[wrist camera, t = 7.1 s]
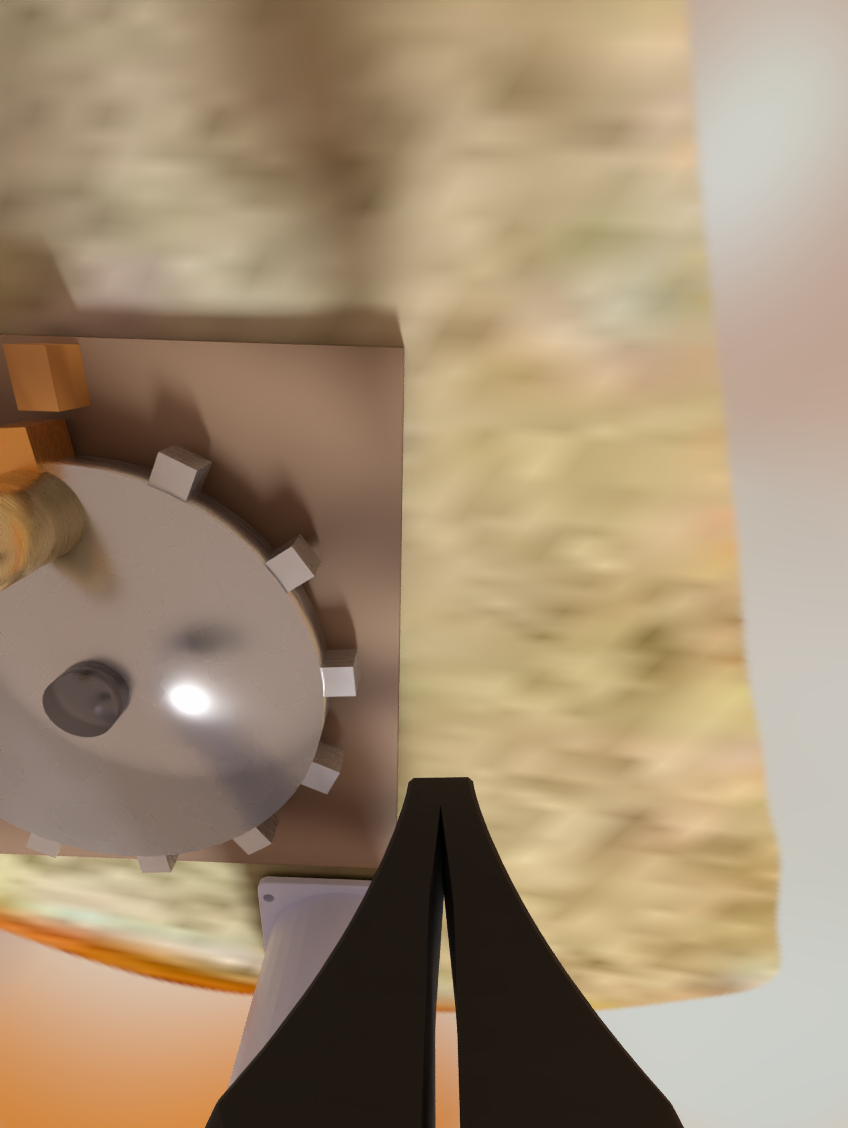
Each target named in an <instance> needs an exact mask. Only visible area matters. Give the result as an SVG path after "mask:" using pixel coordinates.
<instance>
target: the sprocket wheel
mask: <svg viewBox="0 0 848 1128" xmlns="http://www.w3.org/2000/svg"><path fill="white" fill-rule="evenodd" d="M211 464H212V462H211V461H209V460H207V459H205V458H203V457H201V456H199V455H196V454H194V453H192V452H190V451H188V450H186V449H184V448H182V447H180V446H178V445H174V446H171V447H169V448H167V449H164V450H162V451H159V452H158V455H157V458H156V461H155V464H154V467H153V469H150V468H147V467H143V466H140V465H136V464H133V463H129V462H125V461H122V460H116V459H109V458H103V457H96V456H90V455H75V454H74V451H73V447H72V444H71V440H70V437H69V433H68V429H67V426H66V422H65V419H45V420H26V421H21V422H16V423H11V424H6V425H2V426H0V819H2V820H4V821H6V822H8V823H10V824H12V825H14V826H16V827H18V828H20V829H23V830H25V831H28V832H30V833H31V834H30V837H29V840H28V843H27V846H26V848H29V849H32V850H34V851H37V852H40V853H43V854H46V855H49V856H51V857H54V858H55V857H56V856H57V855H58V853H59V852H60V851H61V849H62V848H63V847H64V845H67V846H71V847H75V848H80V849H84V850H89V851H94V852H99V853H107V854H115V855H123V856H137V858H138V861H139V864H140V867H141V870H142V873H157V872H171V871H172V869H173V867H174V865H175V863H176V860H177V858H178V856H179V854H181V853H187V852H193V851H198V850H202V849H205V848H209V847H212V846H216V845H219V844H222V843H224V842H227V841H229V840H231V839H233V840H234V841H235V842H236V843H237V844H238V845H239V846H240V847H241V848H242V849H243V850H244V851H245V852H246V853H247V854H248V855H250V854H252V853H254V852H256V851H258V850H260V849H262V848H264V847H266V846H268V845H270V844H272V842H273V839H274V836H275V832H276V829H277V826H278V823H279V819H278V817H277V816H276V815H275V814H274V813H275V812H277V811H278V810H279V809H280V808H281V807H282V806H283V805H284V804H285V803H286V802H287V801H288V799H289V798H290V797H291V796H292V795H293V794H294V793H295V791H296V790H297V788H298V787H299V785H300V784H302V785H305V786H307V787H310V788H312V789H315V790H317V791H320V792H322V793H325V794H328V792H329V790H330V789H331V787H332V785H333V784H334V782H335V780H336V779H337V777H338V775H339V774H340V770H341V766H342V761H343V757H344V752H345V751H344V750H341V749H339V748H337V747H334V746H332V745H329V744H327V743H325V742H322V741H320V737H321V734H322V730H323V727H324V723H325V719H326V716H327V712H328V708H329V700H330V697H337V696H356V694H357V689H358V685H359V680H360V669H359V659H358V649H329V650H327V645H326V640H325V636H324V633H323V630H322V627H321V624H320V622H319V619H318V616H317V613H316V611H315V609H314V607H313V605H312V603H311V601H310V599H309V597H308V595H307V593H306V591H305V589H304V587H303V586H302V583H304V582H306V581H307V580H309V579H311V578H312V577H314V576H315V574H316V572H317V570H318V568H319V566H320V564H321V561H320V559H319V558H318V557H317V555H316V554H315V553H314V551H313V550H312V549H311V547H310V546H309V545H308V543H307V542H306V541H305V539H304V538H303V537H302V535H301V534H299V535H298V536H296V537H295V538H293V539H292V540H290V541H288V542H287V543H285V544H284V545H282V546H280V547H279V548H277V549H276V550H275V549H274V548H273V547H272V546H271V544H270V543H269V542H268V541H267V540H266V539H265V538H264V537H263V536H262V535H261V534H259V533H258V532H257V531H256V530H255V529H254V528H253V527H252V526H251V525H249V524H248V523H247V522H246V521H245V520H244V519H243V518H242V517H240V516H239V515H237V514H236V513H234V512H233V511H232V510H230V509H229V508H227V507H226V506H225V505H223V504H222V503H220V502H219V501H218V500H216V499H215V498H213V497H211V496H209V495H207V494H206V493H204V492H202V488H203V485H204V483H205V480H206V477H207V475H208V472H209V469H210V467H211Z"/></svg>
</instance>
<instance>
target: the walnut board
mask: <svg viewBox="0 0 848 1128" xmlns="http://www.w3.org/2000/svg"><path fill="white" fill-rule="evenodd" d="M404 349H405V348H401V347H370V346H339V345H309V344H278V343H248V342H217V341H187V340H156V339H126V338H95V337H65V336H34V335H4V334H0V426H2V425H6V424H11V423H16V422H21V421H26V420H45V419H65V422H66V426H67V429H68V433H69V437H70V440H71V444H72V447H73V451H74V454H75V455H90V456H96V457H103V458H109V459H116V460H122V461H125V462H129V463H133V464H136V465H140V466H143V467H147V468H150V469H153V467H154V464H155V461H156V458H157V455H158V452H159V451H162V450H164V449H167V448H169V447H171V446H174V445H178V446H180V447H182V448H184V449H186V450H188V451H190V452H192V453H194V454H196V455H199V456H201V457H203V458H205V459H207V460H209V461H211V462H212V464H211V467H210V469H209V472H208V475H207V477H206V480H205V483H204V485H203V488H202V492H204V493H206V494H207V495H209V496H211V497H213V498H215V499H216V500H218V501H219V502H220V503H222V504H223V505H225V506H226V507H227V508H229V509H230V510H232V511H233V512H234V513H236V514H237V515H239V516H240V517H242V518H243V519H244V520H245V521H246V522H247V523H248V524H249V525H251V526H252V527H253V528H254V529H255V530H256V531H257V532H258V533H259V534H261V535H262V536H263V537H264V538H265V539H266V540H267V541H268V542H269V543H270V544H271V546H272V547H273V548H274V549H275V550H276V549H277V548H279V547H280V546H282V545H284V544H285V543H287V542H288V541H290V540H292V539H293V538H295V537H296V536H298V535H299V534H301V535H302V537H303V538H304V539H305V541H306V542H307V543H308V545H309V546H310V547H311V549H312V550H313V551H314V553H315V554H316V555H317V557H318V558H319V559H320V561H321V564H320V566H319V568H318V570H317V572H316V574H315V576H314V577H312V578H311V579H309V580H307V581H306V582H304V583H302V586H303V587H304V589H305V591H306V593H307V595H308V597H309V599H310V601H311V603H312V605H313V607H314V609H315V611H316V613H317V616H318V619H319V622H320V624H321V627H322V630H323V633H324V636H325V640H326V645H327V650H329V649H358V659H359V669H360V680H359V685H358V689H357V694H356V696H337V697H330V700H329V708H328V712H327V716H326V719H325V723H324V727H323V730H322V734H321V737H320V741H322V742H325V743H327V744H329V745H332V746H334V747H337V748H339V749H341V750H344V751H345V752H344V757H343V761H342V766H341V770H340V774H339V775H338V777H337V779H336V780H335V782H334V784H333V785H332V787H331V789H330V790H329V792H328V794H325V793H322V792H320V791H317V790H315V789H312V788H310V787H307V786H305V785H302V784H300V785H299V787H298V788H297V790H296V791H295V793H294V794H293V795H292V796H291V797H290V798H289V799H288V801H287V802H286V803H285V804H284V805H283V806H282V807H281V808H280V809H279V810H278V811H277V812H275V813H274V814H275V815H276V816H277V817H278V819H279V823H278V826H277V829H276V832H275V836H274V839H273V842H272V844H270V845H268V846H266V847H264V848H262V849H260V850H258V851H256V852H254V853H252V854H250V855H248V854H247V853H246V852H245V851H244V850H243V849H242V848H241V847H240V846H239V845H238V844H237V843H236V842H235V841H234V840H233V839H231V840H229V841H227V842H224V843H222V844H219V845H216V846H212V847H209V848H205V849H202V850H198V851H193V852H187V853H181V854H179V856H178V858H177V860H178V861H203V862H228V863H254V864H279V865H304V866H329V867H355V868H378V867H379V865H380V863H381V861H382V858H383V856H384V854H385V851H386V849H387V847H388V844H389V842H390V839H391V837H392V835H393V832H394V830H395V827H396V824H397V793H398V730H399V666H400V603H401V539H402V476H403V412H404ZM30 834H31V833H30V832H28V831H25V830H23V829H20V828H18V827H16V826H14V825H12V824H10V823H8V822H6V821H4V820H2V819H0V853H1V854H26V855H46V854H43V853H40V852H37V851H34V850H32V849H29V848H26V846H27V843H28V840H29V837H30ZM57 856H77V857H102V858H127V859H138V858H137V856H123V855H115V854H107V853H99V852H94V851H89V850H84V849H80V848H75V847H71V846H67V845H64V847H63V848H62V849H61V851H60V852H59V853H58V855H57Z"/></svg>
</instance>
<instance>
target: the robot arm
mask: <svg viewBox="0 0 848 1128" xmlns="http://www.w3.org/2000/svg"><path fill="white" fill-rule="evenodd" d="M258 898H259V906H260V914H261V923H262V931H263V940H264V948H265V956H264V960H263V963H262V967H261V970H260V974H259V978H258V981H257V985H256V989H255V992H254V996H253V999H252V1003H251V1007H250V1010H249V1014H248V1017H247V1021H246V1025H245V1028H244V1032H243V1035H242V1039H241V1043H240V1046H239V1050H238V1053H237V1057H236V1061H235V1065H234V1068H233V1071H232V1075H231V1079H230V1083H229V1086H228V1090H227V1091H226V1092H225V1093H224V1094H223V1095H222V1096H221V1098H220V1099H219V1100H218V1102H217V1104H216V1105H215V1108H214V1110H213V1112H212V1114H211V1116H210V1118H209V1120H208V1122H207V1124H206V1127H205V1128H435V1021H436V1002H437V987H438V973H439V959H440V945H441V930H442V916H443V901H444V899H445V909H446V919H447V929H448V939H449V948H450V958H451V968H452V977H453V987H454V997H455V1007H456V1019H457V1033H458V1067H459V1100H460V1128H684V1127H683V1125H682V1123H681V1121H680V1119H679V1117H678V1115H677V1114H676V1112H675V1110H674V1108H673V1106H672V1104H671V1103H670V1101H669V1100H668V1099H667V1098H666V1097H665V1096H664V1094H663V1093H662V1092H661V1091H660V1090H659V1089H658V1088H657V1086H656V1085H655V1084H654V1083H653V1082H652V1081H651V1080H650V1078H649V1077H648V1076H647V1075H646V1074H645V1073H644V1072H643V1070H642V1069H641V1068H640V1067H639V1066H638V1065H637V1063H636V1062H635V1061H634V1060H633V1058H632V1057H631V1056H630V1055H629V1054H628V1053H627V1051H626V1050H625V1049H624V1048H623V1047H622V1045H621V1044H620V1043H619V1041H617V1039H616V1038H615V1036H614V1035H613V1034H612V1033H611V1031H610V1030H609V1029H608V1028H607V1026H606V1025H605V1024H604V1023H603V1021H602V1020H601V1019H600V1018H599V1016H598V1015H597V1013H596V1012H595V1011H594V1009H593V1008H592V1007H591V1005H590V1004H589V1002H588V1001H587V1000H586V998H585V997H584V996H583V994H582V993H581V991H580V990H579V989H578V987H577V986H576V985H575V983H574V982H573V980H572V979H571V978H570V976H569V975H568V974H567V972H566V971H565V969H564V968H563V966H562V965H561V963H560V962H559V960H558V959H557V957H556V956H555V954H554V953H553V951H552V950H551V948H550V947H549V945H548V944H547V942H546V940H545V939H544V937H543V935H542V934H541V932H540V931H539V929H538V927H537V926H536V924H535V922H534V921H533V919H532V917H531V916H530V914H529V912H528V910H527V909H526V907H525V905H524V903H523V901H522V900H521V898H520V896H519V894H518V892H517V890H516V888H515V887H514V885H513V883H512V881H511V879H510V877H509V875H508V873H507V871H506V869H505V867H504V865H503V863H502V861H501V858H500V856H499V854H498V852H497V850H496V847H495V845H494V843H493V841H492V838H491V836H490V834H489V831H488V829H487V826H486V824H485V821H484V818H483V816H482V813H481V810H480V807H479V804H478V801H477V797H476V793H475V790H474V784H473V781H472V780H471V779H470V778H468V777H452V778H413V779H412V780H411V781H410V782H409V783H408V788H407V793H406V797H405V800H404V804H403V807H402V810H401V813H400V816H399V819H398V822H397V824H396V827H395V830H394V832H393V835H392V837H391V839H390V842H389V844H388V847H387V849H386V851H385V854H384V856H383V858H382V861H381V863H380V865H379V867H378V869H377V871H376V873H375V875H374V877H373V879H372V880H349V879H324V878H299V877H274V876H268V877H264V878H262V879H261V880H260V882H259V885H258Z"/></svg>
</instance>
